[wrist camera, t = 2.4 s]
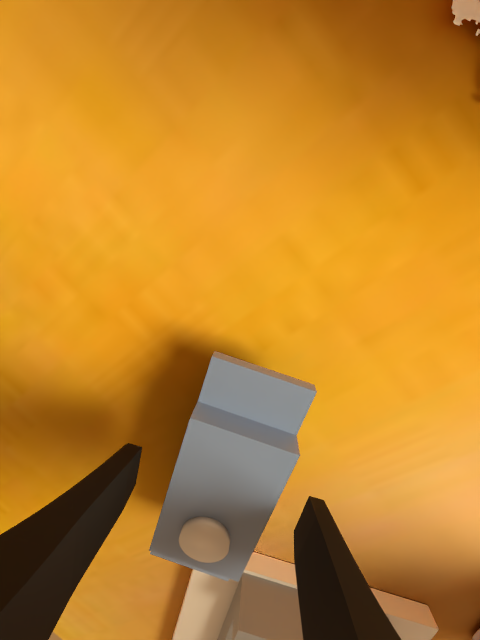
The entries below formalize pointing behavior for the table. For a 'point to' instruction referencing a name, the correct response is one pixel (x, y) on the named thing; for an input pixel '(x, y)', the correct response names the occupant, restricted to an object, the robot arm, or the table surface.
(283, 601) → the cradle
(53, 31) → the table surface
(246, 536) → the servo
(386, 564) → the table surface
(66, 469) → the table surface
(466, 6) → the crumpled paper
